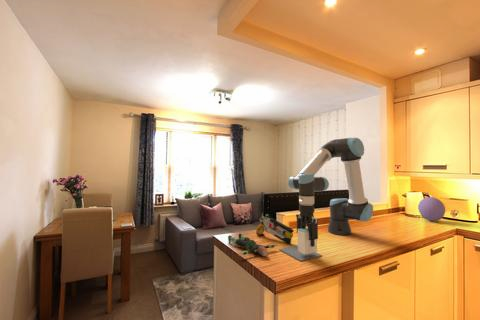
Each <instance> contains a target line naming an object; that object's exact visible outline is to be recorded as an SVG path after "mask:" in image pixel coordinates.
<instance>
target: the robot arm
mask: <svg viewBox="0 0 480 320" xmlns="http://www.w3.org/2000/svg"><path fill="white" fill-rule="evenodd" d="M364 154H365V146H364V143H363V141H362V140H361V138H359V137H348V138H346V137H345V138H340V139H339V138H338V139H332V140H330V141H328V142H326V143H325V144H323V145H322V146H321V147H319V149H318V150H317V153H316V154H315V155H314V156H313V157H312V159H311V160H310V161H309V162H308V163H307V164H306V165H305V166H304V167H303V168H302V169H301V170H300V171H299V173H297V175H296V176H295V175H294V176H292V175H291V176H289V178H288V181H287V184H288V187H289V188H290V189H292V190H295V191H296V190H298V203H299V205H298V212H300V213H299V214H296V215H295V216H296V217H295V218H296V234H297V235H298V229H301V228H307V227H308V231H309V237H310V239H308V242H309V253H314V246H315V242H314V240H315V239H317V240H319V239H318V238H319V227H318V224H319V219H318V218H316V217H315V216H314V213H315V192H323V191H327V190H328V189H329V186H330V181H329V180H328V179H327V178H326V177H324V176H323V177H322V176H315V175H316V174H317V173H318V172H319V171H320V170H321V168H322V167H323V166H324V165H325V164H326V162H330V161H331V159H334V158H340V161H341V162H342V163H344V171H345V178H346V183H347V189H348V195H349V199H348V198H344V197H343V198H332V199H330V201H329V216H330V219H329V223H328V226H327V232H328V233H330V234H334V235H338V236H348V235H351V234H352V228H351V225H350V222H349V220H355V221H359V222H369V221H370V220H371V219H372V217H373V214H374V213H373V212H374V205H373V204H372V203H371V202H369V200H368V198H367V197H365V190H364V185H363V178H362V172H361V165H360V160H361V159H362V157H363V156H364Z"/></svg>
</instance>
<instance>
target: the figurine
mask: <svg viewBox="0 0 480 320" xmlns="http://www.w3.org/2000/svg"><path fill="white" fill-rule="evenodd" d="M227 240H228V244H232V245H235V246H237V247H240V248H245V249H246V250H244V251H242V252H240V253H238V256H239V257H241V256H245V255H248V254H250V253H253V254H255V255H257V254H258V256H259V257H260V256H261V257H267V256H268V253H269V251H268V249H274V248H276V247H278V244H269V245H262V244H257V241H255V239H250V237H249V236H248V237H247V236H245V235H243V233H241V232H240V233H238V238H237V237H233V236H232V235H228V236H227Z"/></svg>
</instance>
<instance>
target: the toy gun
mask: <svg viewBox="0 0 480 320" xmlns="http://www.w3.org/2000/svg"><path fill="white" fill-rule="evenodd" d="M258 220H259V224H258V225H257V227H255V230H256V232H255V233H256V235H258V236H259V237H261V238H262V237H265V234H264V233H265V232H266V233H267V234H271V235H272V236H274V237H275V238H277V239H279V240H280V241H281V242H284V243H285V244H287V245H290V244H291V243H292V238H293V236H294V229H293V228H291V227H290V226H287V225H286V224H284V223H282V222H280V221H278V220H277V219H274V217H272V216H271V215H269V214H265V216H264V215H262V217H261V216H260V217H259V218H258Z"/></svg>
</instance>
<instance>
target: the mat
mask: <svg viewBox="0 0 480 320" xmlns="http://www.w3.org/2000/svg"><path fill="white" fill-rule="evenodd" d="M278 250H279V251H280V252H281V253H283V254H286V255H287V256H289V257H291V258H293V259H295V260H297V261H298V262H305V261H309V260H312V259H313V260H314V259H317V258H321V257H323V255H322V254H320V253H318V252H314V253H309V254H303V253H301V252H299V251H298V244H297V245H293V246H287V247H283V248H282V247H281V248H279V249H278Z"/></svg>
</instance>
